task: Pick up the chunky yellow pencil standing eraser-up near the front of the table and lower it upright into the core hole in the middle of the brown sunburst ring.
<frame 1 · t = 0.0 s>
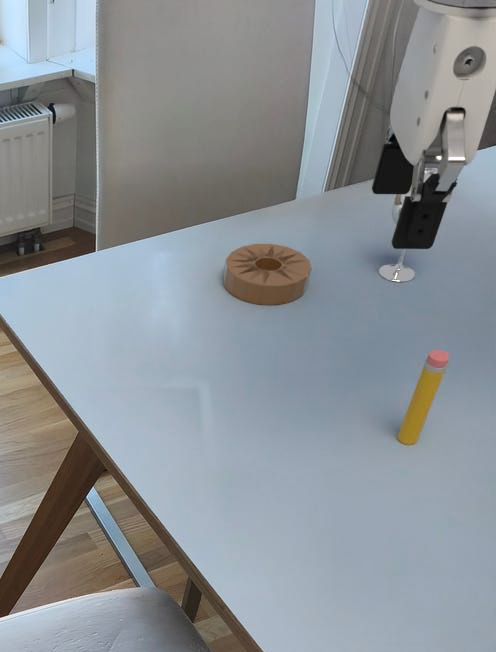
hand: (399, 218, 75), 23 cm above the table, tool pointing down, fingers open, 9 cm apart
brown sunburst ring: (264, 283, 113), on the table
wineglass: (396, 274, 113), on the table
pencil: (407, 438, 92), on the table
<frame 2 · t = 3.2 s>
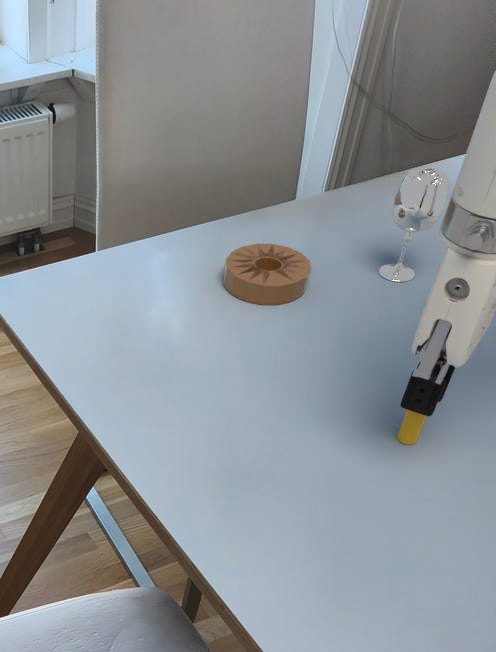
hand: (421, 402, 89), 5 cm above the table, tool pointing down, fingers closed on pencil, 2 cm apart
pencil: (407, 438, 92), on the table, touching gripper
everything else where it was.
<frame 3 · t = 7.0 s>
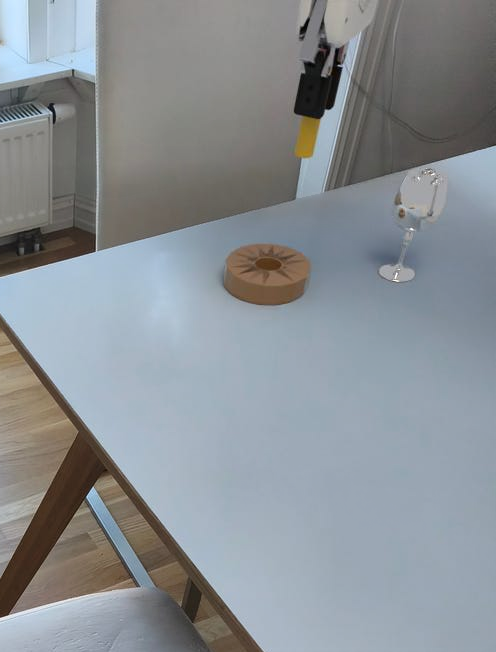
hand: (313, 109, 94), 21 cm above the table, tool pointing down, fingers closed on pencil
pencil: (303, 154, 98), point 17 cm above the table, touching gripper
everything else where it was.
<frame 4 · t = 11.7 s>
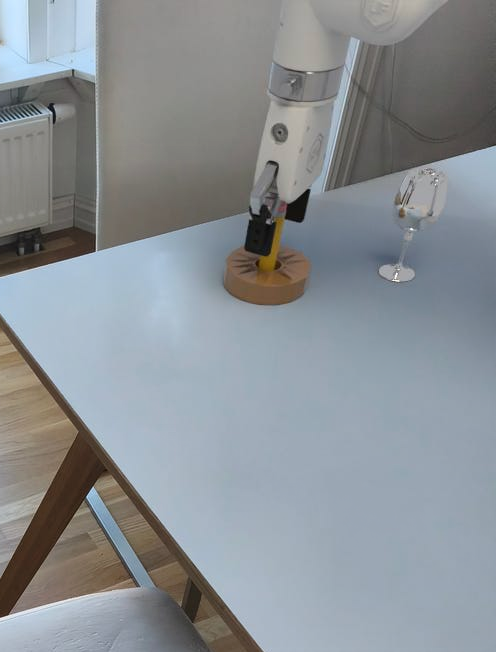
hand: (274, 235, 108), 6 cm above the table, tool pointing down, fingers open, 9 cm apart
pencil: (263, 281, 113), resting on brown sunburst ring
everything else where it was.
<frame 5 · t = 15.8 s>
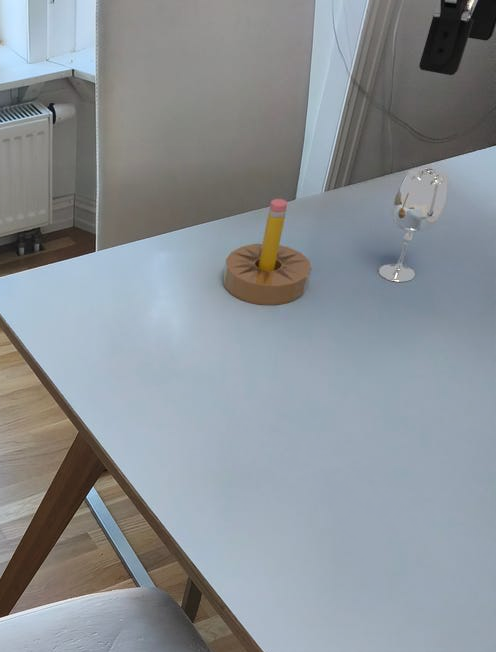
hand: (455, 53, 79), 30 cm above the table, tool pointing down, fingers open, 9 cm apart
nothing on the table moved.
at the end: pencil 0.1 cm off-centre in the brown sunburst ring, point 0.2 cm above the brown sunburst ring's base; pencil tilted 0°; the gripper is holding nothing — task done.
